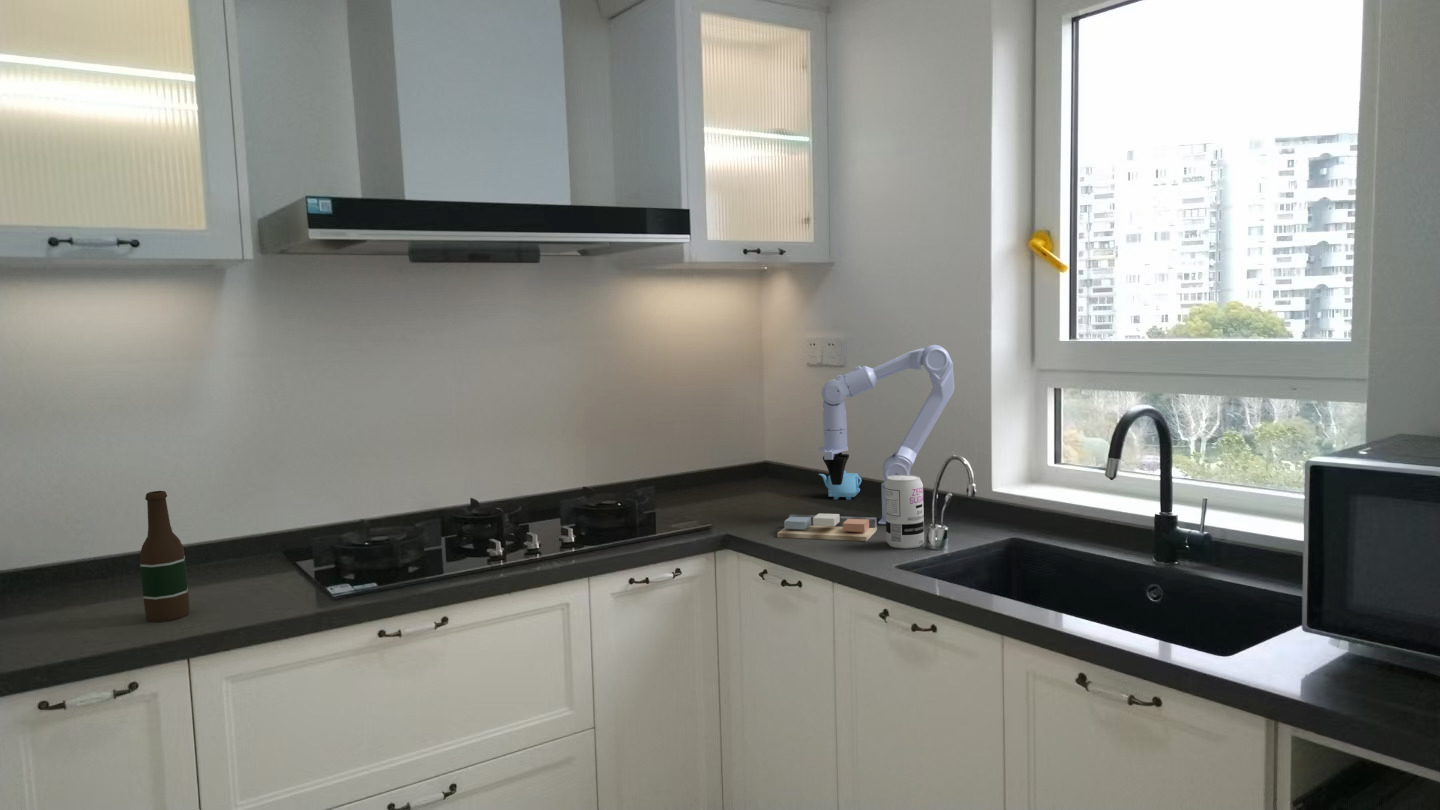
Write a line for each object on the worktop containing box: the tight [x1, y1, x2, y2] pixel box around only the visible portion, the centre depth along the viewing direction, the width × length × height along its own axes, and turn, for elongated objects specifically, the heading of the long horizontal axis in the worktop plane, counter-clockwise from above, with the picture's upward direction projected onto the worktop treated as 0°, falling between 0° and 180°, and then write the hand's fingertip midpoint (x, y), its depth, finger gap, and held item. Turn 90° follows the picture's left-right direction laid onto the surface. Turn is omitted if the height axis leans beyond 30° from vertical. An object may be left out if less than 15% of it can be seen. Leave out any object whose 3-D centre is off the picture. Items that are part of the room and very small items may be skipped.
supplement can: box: [885, 474, 925, 550], centre depth 219 cm, size 8×8×15 cm
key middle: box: [813, 512, 840, 526], centre depth 232 cm, size 5×5×2 cm
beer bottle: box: [139, 490, 190, 623], centre depth 189 cm, size 8×8×24 cm
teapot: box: [818, 470, 863, 501], centre depth 275 cm, size 12×6×8 cm, turn 72°
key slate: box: [783, 517, 811, 530], centre depth 235 cm, size 5×5×2 cm
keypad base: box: [776, 513, 878, 542], centre depth 233 cm, size 21×11×3 cm, turn 69°
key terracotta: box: [843, 519, 869, 532], centre depth 230 cm, size 5×5×2 cm
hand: (836, 484), depth 244 cm, fingers closed
